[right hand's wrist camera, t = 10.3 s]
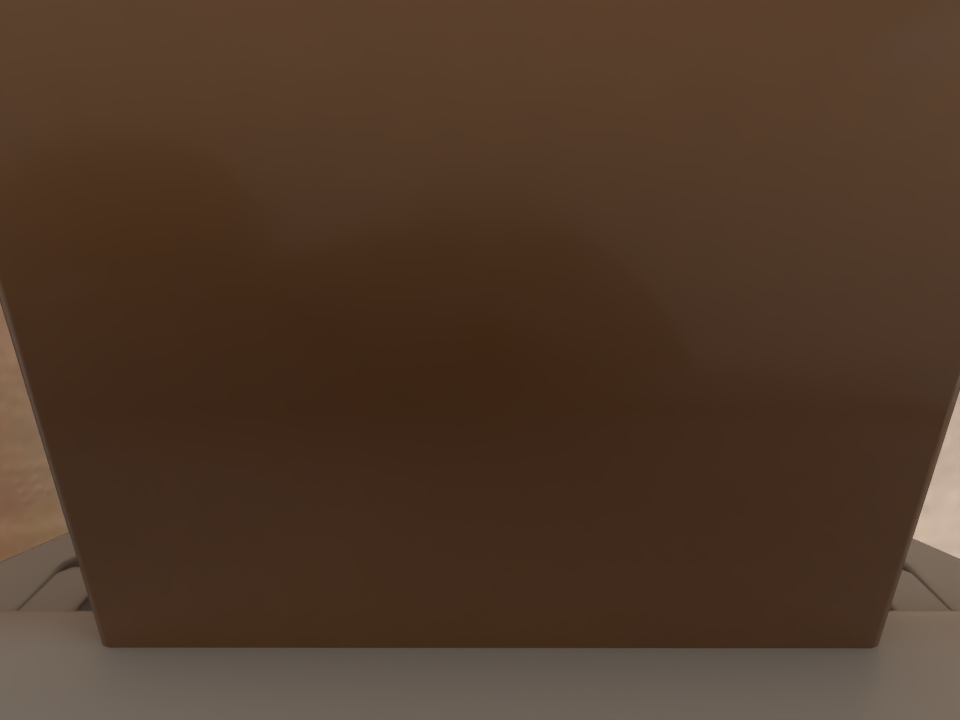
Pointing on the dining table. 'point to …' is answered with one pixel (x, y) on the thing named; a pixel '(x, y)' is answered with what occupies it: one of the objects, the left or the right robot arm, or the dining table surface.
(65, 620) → the right robot arm
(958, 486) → the dining table surface
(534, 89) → the box
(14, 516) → the dining table surface
